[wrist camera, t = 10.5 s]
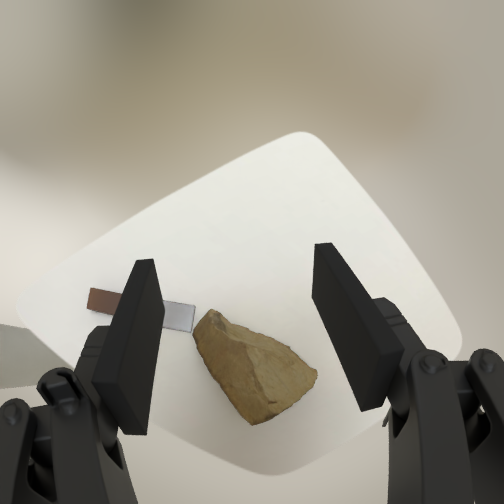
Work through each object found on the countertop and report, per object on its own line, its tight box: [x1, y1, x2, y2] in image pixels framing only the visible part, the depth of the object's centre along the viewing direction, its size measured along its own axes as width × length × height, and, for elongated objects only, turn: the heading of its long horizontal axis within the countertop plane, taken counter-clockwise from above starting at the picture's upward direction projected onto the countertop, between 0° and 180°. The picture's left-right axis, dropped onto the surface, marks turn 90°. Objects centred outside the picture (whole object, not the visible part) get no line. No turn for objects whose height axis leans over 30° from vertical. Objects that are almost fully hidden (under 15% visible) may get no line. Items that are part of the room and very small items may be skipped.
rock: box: [192, 309, 318, 426], centre depth 24 cm, size 11×9×10 cm
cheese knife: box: [87, 288, 195, 332], centre depth 27 cm, size 10×2×1 cm, turn 83°
